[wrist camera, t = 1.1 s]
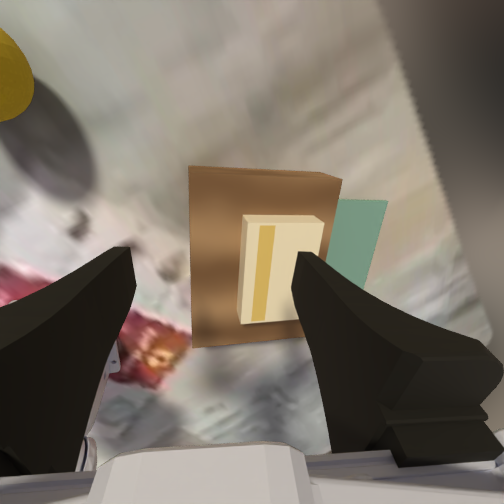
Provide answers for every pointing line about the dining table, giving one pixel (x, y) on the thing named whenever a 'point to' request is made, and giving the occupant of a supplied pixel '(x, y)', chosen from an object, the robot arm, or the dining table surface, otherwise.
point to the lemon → (13, 79)
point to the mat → (355, 237)
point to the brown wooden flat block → (229, 241)
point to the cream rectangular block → (272, 264)
